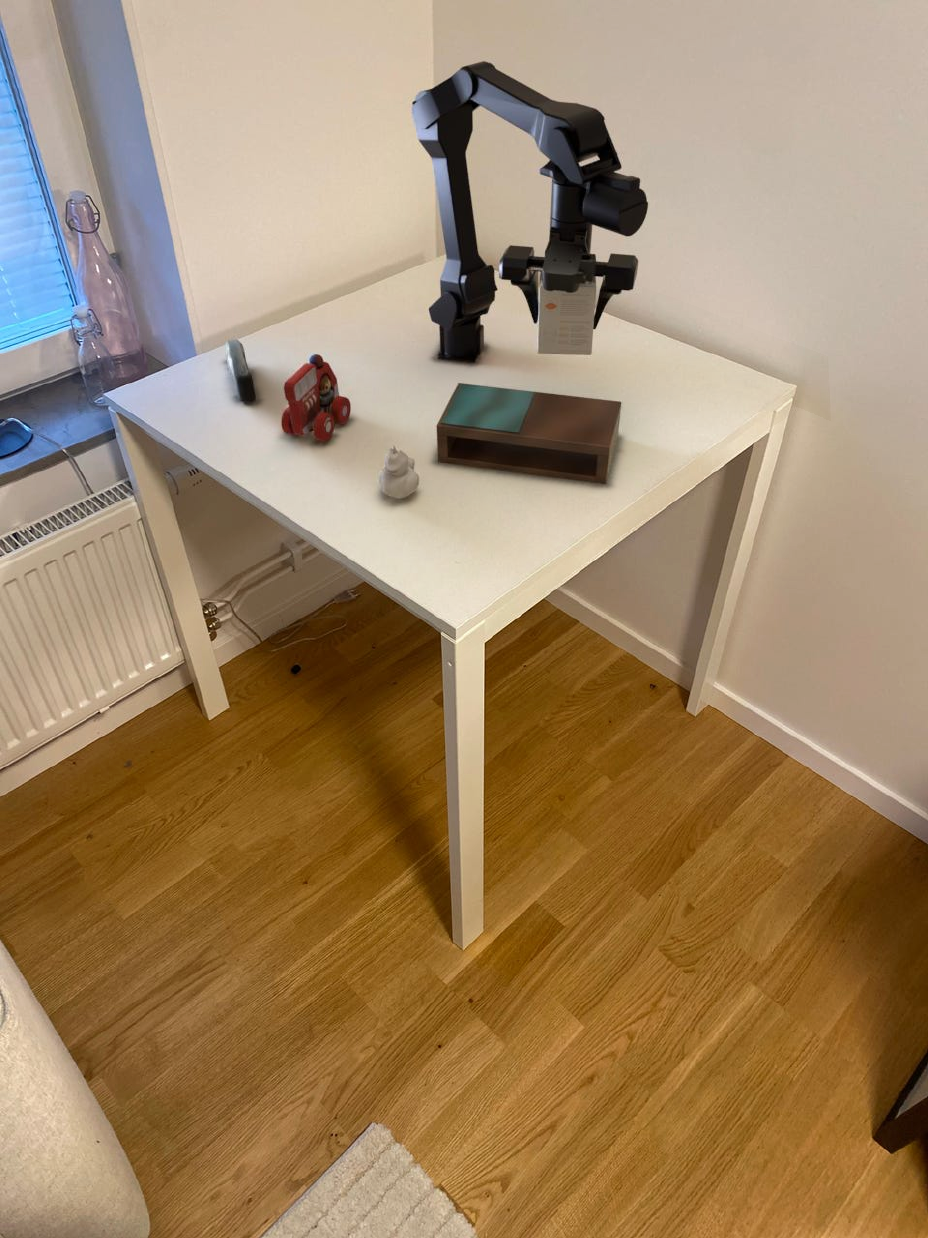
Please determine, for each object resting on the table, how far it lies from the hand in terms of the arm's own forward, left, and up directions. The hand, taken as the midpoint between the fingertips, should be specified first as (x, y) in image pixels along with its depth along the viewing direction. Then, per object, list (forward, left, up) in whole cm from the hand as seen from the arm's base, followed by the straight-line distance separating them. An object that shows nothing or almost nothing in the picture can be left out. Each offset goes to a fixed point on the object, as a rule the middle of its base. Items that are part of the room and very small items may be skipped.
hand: (564, 325), depth 136 cm
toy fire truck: (-34, -15, -13) cm, 39 cm away
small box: (0, 0, -4) cm, 4 cm away
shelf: (-2, -14, -12) cm, 19 cm away
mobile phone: (-51, -5, -13) cm, 53 cm away
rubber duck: (-17, -28, -13) cm, 35 cm away
